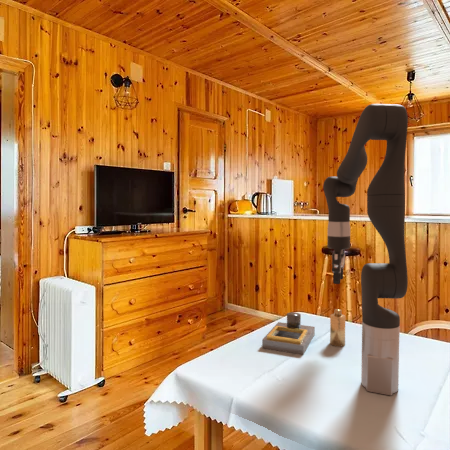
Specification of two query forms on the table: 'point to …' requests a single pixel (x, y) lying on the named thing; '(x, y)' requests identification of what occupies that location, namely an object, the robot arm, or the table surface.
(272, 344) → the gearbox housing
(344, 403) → the table surface
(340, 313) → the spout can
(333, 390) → the table surface
